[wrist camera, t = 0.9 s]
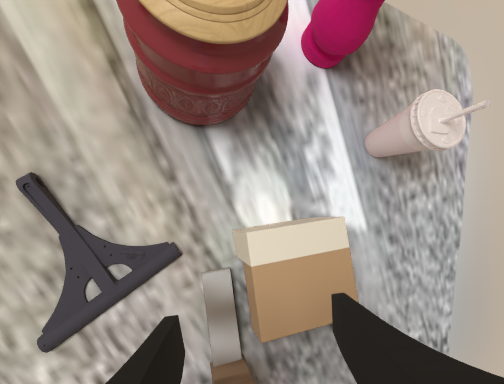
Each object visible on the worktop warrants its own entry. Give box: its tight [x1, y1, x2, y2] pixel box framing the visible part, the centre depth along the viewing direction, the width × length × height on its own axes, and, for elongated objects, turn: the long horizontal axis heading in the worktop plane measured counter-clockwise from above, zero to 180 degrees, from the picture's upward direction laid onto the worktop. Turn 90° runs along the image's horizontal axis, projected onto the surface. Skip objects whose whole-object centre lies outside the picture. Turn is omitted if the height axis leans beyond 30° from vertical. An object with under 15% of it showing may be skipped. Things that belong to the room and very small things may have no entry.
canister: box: [116, 0, 288, 126], centre depth 23 cm, size 13×13×18 cm
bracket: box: [16, 172, 182, 353], centre depth 25 cm, size 14×15×3 cm
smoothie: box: [365, 89, 490, 158], centre depth 30 cm, size 6×6×14 cm
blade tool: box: [202, 267, 255, 384], centre depth 25 cm, size 13×4×7 cm, turn 8°
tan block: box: [232, 217, 358, 343], centre depth 28 cm, size 10×10×7 cm
